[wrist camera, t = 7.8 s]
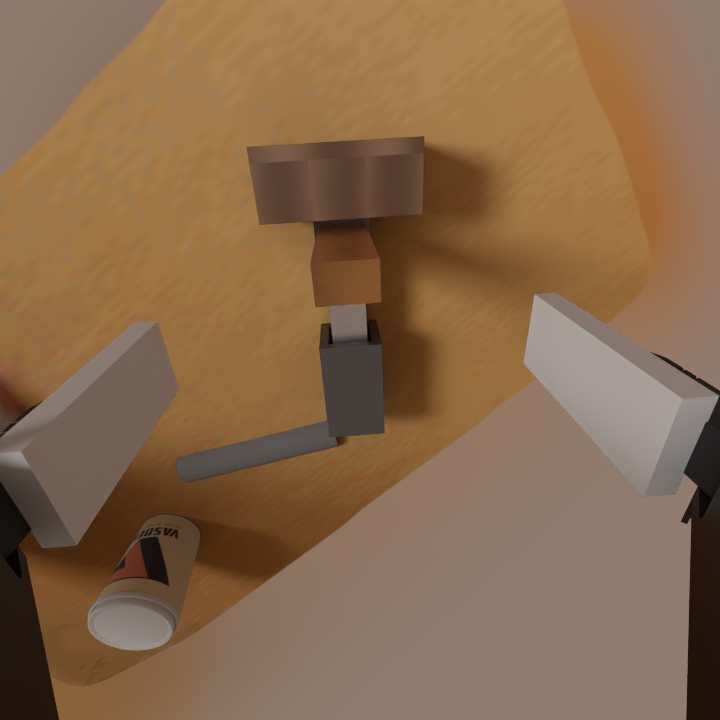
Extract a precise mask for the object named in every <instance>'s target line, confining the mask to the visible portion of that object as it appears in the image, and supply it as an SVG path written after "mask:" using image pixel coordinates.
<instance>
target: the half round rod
mask: <svg viewBox="0 0 720 720" xmlns="http://www.w3.org/2000/svg"><path fill="white" fill-rule="evenodd" d="M337 446H339V443H338V441H337V438H336V437H329V430H328V421H325V422H321V423H317V424H313V425H309V426H305V427H301V428H297V429H293V430H289V431H285V432H281V433H277V434H273V435H269V436H265V437H261V438H257V439H253V440H249V441H245V442H240V443H236V444H232V445H228V446H224V447H220V448H216V449H212V450H208V451H204V452H200V453H196V454H192V455H188V456H184V457H180V458H178V459H177V463H176V467H177V472H178V475H179V477H180V478H181V479H182V480H183V481H184V482H192V481H196V480H201V479H205V478H209V477H213V476H217V475H221V474H225V473H230V472H234V471H238V470H242V469H246V468H250V467H254V466H259V465H263V464H267V463H271V462H275V461H279V460H283V459H287V458H292V457H296V456H300V455H304V454H308V453H312V452H316V451H321V450H325V449H329V448H333V447H337Z"/></svg>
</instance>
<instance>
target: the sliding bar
mask: <svg viewBox="0 0 720 720" xmlns="http://www.w3.org/2000/svg"><path fill="white" fill-rule="evenodd" d="M313 223H314V233H315V245H314V250H313V254H312V259H311V271H312V280H313V289H314V298H315V307H324V306H329V308H330V318H331V329H332V339H333V344H342V343H355V342H368V340H367V319H366V304H367V303H381V271H380V257H379V255H378V252H377V250H376V248H375V245H374V243H373V241H372V238H371V236H370V220H369V218H356V219H341V220H326V221H313Z"/></svg>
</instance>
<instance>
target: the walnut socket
mask: <svg viewBox="0 0 720 720" xmlns="http://www.w3.org/2000/svg"><path fill="white" fill-rule="evenodd" d="M247 152H248V158H249V164H250V170H251V176H252V182H253V188H254V194H255V200H256V206H257V212H258V218H259V224H260V225H264V224H279V223H295V222H310V221H326V220H341V219H356V218H372V217H387V216H402V215H418V214H423V173H424V136H422V137H406V138H389V139H372V140H356V141H339V142H322V143H306V144H289V145H272V146H256V147H247Z"/></svg>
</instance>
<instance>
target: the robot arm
mask: <svg viewBox="0 0 720 720" xmlns="http://www.w3.org/2000/svg"><path fill="white" fill-rule="evenodd" d="M524 364H525V365H526V366H527V368H528V369H529V370H530V371H531V372H532V373H533V374H534V375H535V376H536V378H537V379H538V380H539V381H540V382H541V383H542V384H543V385H544V386H545V387H546V388H547V390H548V391H549V392H550V393H551V394H552V395H553V396H554V397H555V399H556V400H557V401H558V402H559V403H560V404H561V405H562V406H563V408H564V409H565V410H566V411H567V412H568V413H569V414H570V415H571V416H572V418H573V419H574V420H575V421H576V422H577V423H578V424H579V425H580V426H581V428H582V429H583V430H584V431H585V432H586V433H587V434H588V435H589V436H590V438H591V439H592V440H593V441H594V442H595V443H596V444H597V445H598V447H599V448H600V449H601V450H602V451H603V452H604V453H605V454H606V455H607V457H608V458H609V459H610V460H611V461H612V462H613V463H614V464H615V465H616V467H617V468H618V469H619V470H620V471H621V472H622V473H623V474H624V475H625V477H626V478H627V479H628V480H629V481H630V482H631V483H632V484H633V485H634V487H635V488H636V489H637V490H638V491H639V492H640V493H641V494H642V495H643V496H644V497H647V496H658V495H670V494H676V492H677V489H678V487H679V485H680V483H681V480H682V478H683V476H684V474H685V475H687V476H688V477H689V478H690V479H691V480H692V481H693V482H694V483H695V484H696V485H697V486H698V487H697V489H696V491H695V493H694V495H693V497H692V499H691V502H690V504H689V506H688V508H687V510H686V512H685V514H684V516H683V518H682V520H681V522H683V523H686V524H687V523H688V521H689V519H690V518H691V557H690V596H689V636H688V675H687V679H688V680H687V716H686V718H687V719H686V720H720V391H719V390H717V389H716V388H714V387H713V386H711V385H710V384H708V383H706V382H705V381H703V380H701V379H700V378H696V376H695V375H693V374H692V373H690V372H688V371H687V370H683V368H682V367H680V366H679V365H677V364H676V363H674V362H672V361H671V360H669V359H668V358H665V357H662V356H660V355H657V354H654V353H652V352H649V351H648V350H646V349H644V348H643V347H641V346H640V345H638V344H636V343H635V342H633V341H632V340H630V339H629V338H627V337H625V336H624V335H622V334H621V333H619V332H617V331H616V330H614V329H613V328H611V327H609V326H608V325H606V324H605V323H603V322H602V321H600V320H598V319H597V318H595V317H594V316H592V315H591V314H589V313H587V312H586V311H584V310H583V309H581V308H579V307H578V306H576V305H575V304H573V303H572V302H570V301H568V300H567V299H565V298H564V297H562V296H560V295H559V294H557V293H545V294H535V295H534V301H533V307H532V313H531V320H530V326H529V332H528V338H527V345H526V351H525V357H524ZM178 390H179V388H178V384H177V381H176V378H175V375H174V372H173V369H172V366H171V363H170V359H169V356H168V353H167V350H166V347H165V344H164V341H163V338H162V334H161V331H160V328H159V325H158V322H157V321H155V322H141V323H134V324H133V325H132V326H131V327H129V328H128V329H127V330H126V331H125V332H124V333H122V334H121V335H120V336H119V337H118V338H116V339H115V340H114V341H113V342H112V343H111V344H109V345H108V346H107V347H106V348H105V349H104V350H102V351H101V352H100V353H99V354H98V355H97V356H95V357H94V358H93V359H92V360H91V361H90V362H88V363H87V364H86V365H85V366H84V367H83V368H81V369H80V370H79V371H78V372H77V373H75V374H74V375H73V376H72V377H71V378H70V379H68V380H67V381H66V382H65V383H64V384H63V385H61V386H60V387H59V388H58V389H57V390H56V391H54V392H53V393H52V394H51V395H50V396H49V397H47V398H46V399H45V400H44V401H42V402H40V403H39V404H37V405H35V406H33V407H31V408H30V409H28V410H27V411H26V412H25V413H23V414H22V415H21V416H20V417H19V418H18V419H16V420H15V421H14V424H10V425H9V426H8V427H7V428H6V429H4V430H3V431H2V434H0V720H59V718H58V712H57V707H56V702H55V697H54V693H53V688H52V683H51V678H50V673H49V668H48V663H47V658H46V653H45V648H44V643H43V638H42V633H41V628H40V624H39V619H38V614H37V609H36V604H35V599H34V594H33V589H32V584H31V579H30V574H29V569H28V564H27V560H26V556H25V554H24V553H23V552H22V550H21V549H20V547H19V546H18V545H19V544H20V543H21V541H22V540H23V539H24V538H25V537H26V535H27V534H28V533H29V532H30V531H31V532H32V534H33V535H34V537H35V538H36V540H37V541H38V543H39V544H40V546H41V547H42V548H53V547H65V546H76V545H77V544H78V543H79V541H80V540H81V538H82V537H83V535H84V534H85V532H86V531H87V529H88V528H89V526H90V525H91V523H92V521H93V520H94V518H95V517H96V515H97V514H98V512H99V511H100V509H101V508H102V506H103V505H104V503H105V502H106V500H107V499H108V497H109V496H110V494H111V492H112V491H113V489H114V488H115V486H116V485H117V483H118V482H119V480H120V479H121V477H122V476H123V474H124V473H125V471H126V470H127V468H128V467H129V465H130V463H131V462H132V460H133V459H134V457H135V456H136V454H137V453H138V451H139V450H140V448H141V447H142V445H143V444H144V442H145V441H146V439H147V438H148V436H149V435H150V433H151V431H152V430H153V428H154V427H155V425H156V424H157V422H158V421H159V419H160V418H161V416H162V415H163V413H164V412H165V410H166V409H167V407H168V406H169V404H170V402H171V401H172V399H173V398H174V396H175V395H176V393H177V392H178Z"/></svg>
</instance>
